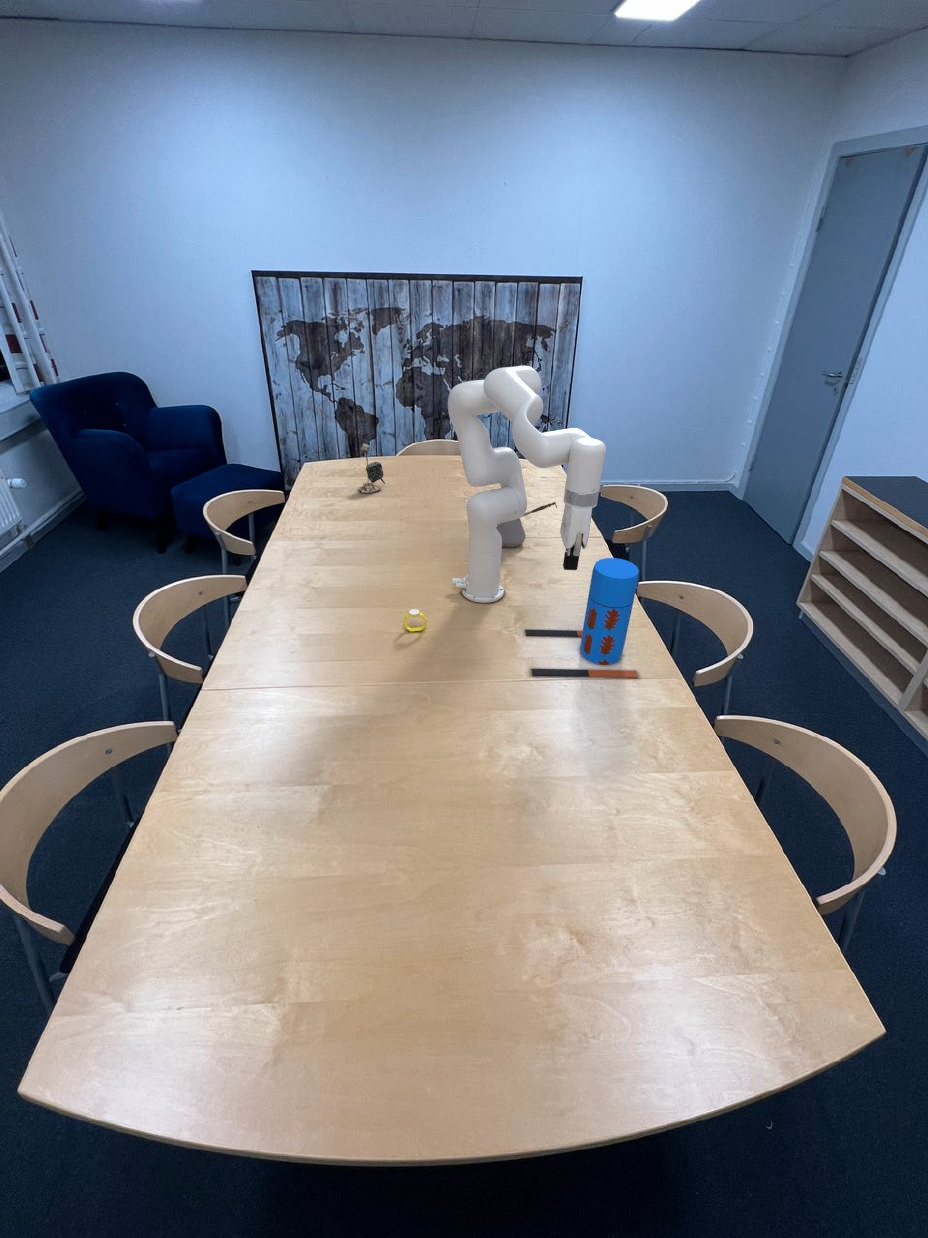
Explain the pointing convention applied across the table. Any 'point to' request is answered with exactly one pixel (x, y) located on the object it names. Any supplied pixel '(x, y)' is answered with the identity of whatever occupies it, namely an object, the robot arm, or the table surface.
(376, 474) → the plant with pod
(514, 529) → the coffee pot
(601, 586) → the thermos
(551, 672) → the lane
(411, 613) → the gold ring
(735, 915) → the table surface
